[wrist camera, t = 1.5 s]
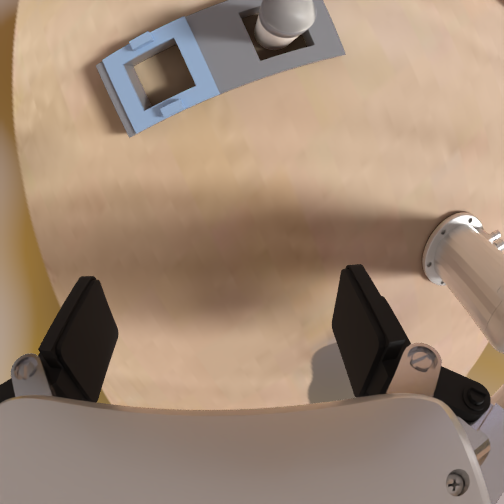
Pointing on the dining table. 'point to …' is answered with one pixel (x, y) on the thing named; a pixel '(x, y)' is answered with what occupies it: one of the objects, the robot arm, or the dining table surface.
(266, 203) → the dining table surface
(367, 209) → the dining table surface
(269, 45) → the plug
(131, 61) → the grey slotted holder
